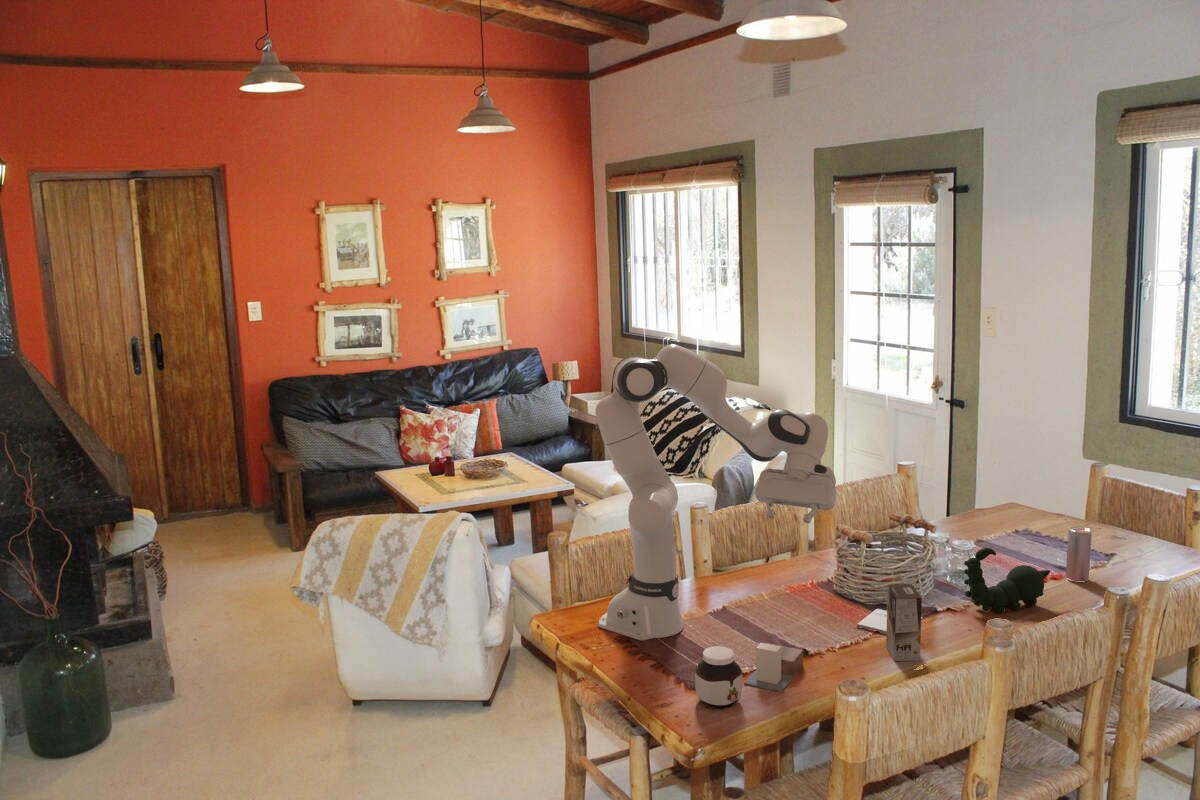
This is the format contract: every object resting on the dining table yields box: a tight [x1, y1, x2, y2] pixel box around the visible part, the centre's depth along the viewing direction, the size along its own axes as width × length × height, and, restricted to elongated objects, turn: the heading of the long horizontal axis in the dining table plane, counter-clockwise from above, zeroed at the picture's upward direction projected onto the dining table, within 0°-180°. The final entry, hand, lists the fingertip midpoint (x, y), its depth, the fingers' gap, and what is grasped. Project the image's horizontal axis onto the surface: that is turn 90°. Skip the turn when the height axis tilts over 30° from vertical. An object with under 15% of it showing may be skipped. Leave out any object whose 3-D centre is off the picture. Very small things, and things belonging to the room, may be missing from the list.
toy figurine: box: [963, 547, 1051, 614], centre depth 271 cm, size 9×19×25 cm
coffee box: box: [885, 583, 923, 662], centre depth 247 cm, size 9×6×16 cm
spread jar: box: [694, 645, 743, 710], centre depth 228 cm, size 12×11×12 cm
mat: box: [743, 669, 794, 693], centre depth 236 cm, size 9×8×1 cm
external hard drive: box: [856, 608, 887, 635], centre depth 266 cm, size 2×8×12 cm
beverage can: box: [1065, 525, 1093, 581], centre depth 289 cm, size 6×6×15 cm
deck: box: [766, 642, 804, 678], centre depth 242 cm, size 9×7×4 cm
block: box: [755, 642, 781, 684], centre depth 235 cm, size 5×3×8 cm, turn 60°
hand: (788, 519), depth 253 cm, fingers open, 8 cm apart
